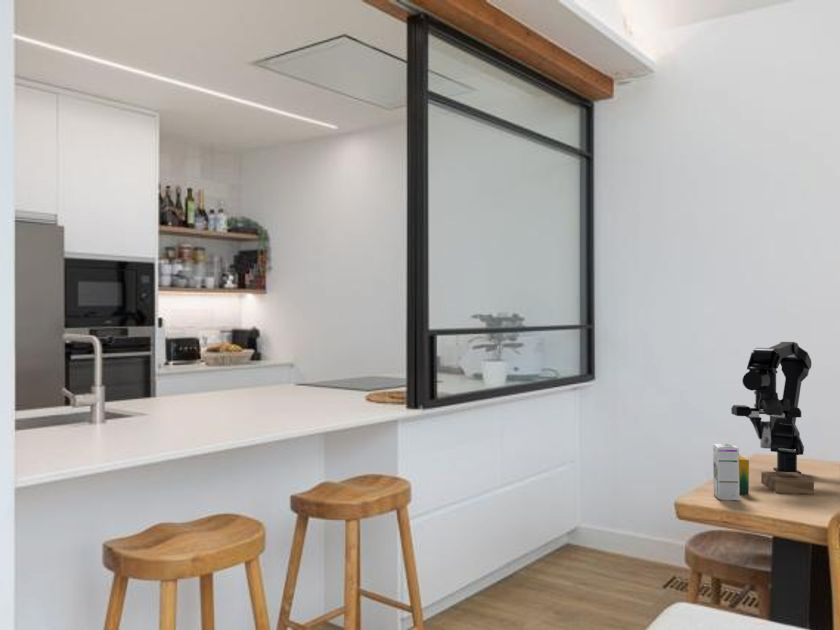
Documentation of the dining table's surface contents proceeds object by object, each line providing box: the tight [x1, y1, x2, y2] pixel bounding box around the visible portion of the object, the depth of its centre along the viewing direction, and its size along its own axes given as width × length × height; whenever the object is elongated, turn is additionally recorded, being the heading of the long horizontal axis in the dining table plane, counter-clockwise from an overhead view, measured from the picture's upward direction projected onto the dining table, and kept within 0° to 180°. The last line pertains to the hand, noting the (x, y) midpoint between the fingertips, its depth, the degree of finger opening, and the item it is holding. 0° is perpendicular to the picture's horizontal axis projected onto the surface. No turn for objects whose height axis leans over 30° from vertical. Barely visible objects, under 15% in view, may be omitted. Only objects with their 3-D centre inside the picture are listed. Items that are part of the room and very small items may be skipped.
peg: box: [759, 420, 771, 449], centre depth 214 cm, size 3×3×8 cm
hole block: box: [760, 470, 815, 495], centre depth 203 cm, size 12×10×4 cm
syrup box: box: [712, 443, 740, 502], centre depth 192 cm, size 6×6×14 cm
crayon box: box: [739, 455, 750, 495], centre depth 199 cm, size 7×3×12 cm, turn 173°
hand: (765, 439), depth 214 cm, fingers closed on peg, 3 cm apart
